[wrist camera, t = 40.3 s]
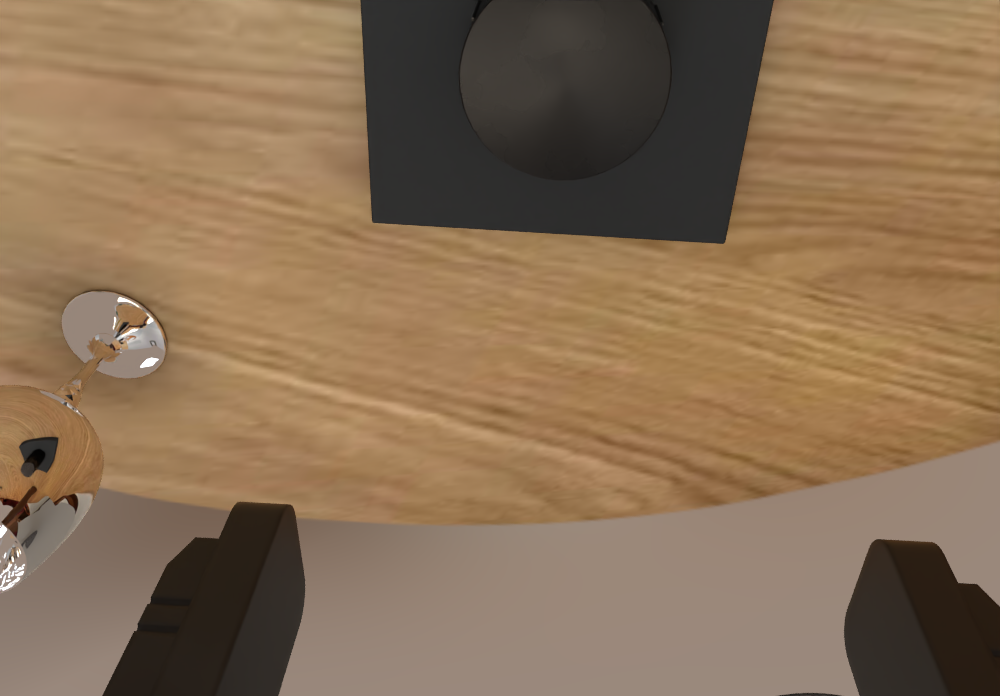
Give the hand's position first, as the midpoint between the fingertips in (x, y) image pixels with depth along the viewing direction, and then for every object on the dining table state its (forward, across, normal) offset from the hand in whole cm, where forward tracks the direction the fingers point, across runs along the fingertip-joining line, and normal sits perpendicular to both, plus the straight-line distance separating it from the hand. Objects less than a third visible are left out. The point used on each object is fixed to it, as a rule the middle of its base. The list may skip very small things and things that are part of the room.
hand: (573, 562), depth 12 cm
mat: (+22, 0, -2) cm, 22 cm away
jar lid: (+21, 0, -2) cm, 21 cm away
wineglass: (+22, +18, +11) cm, 31 cm away
